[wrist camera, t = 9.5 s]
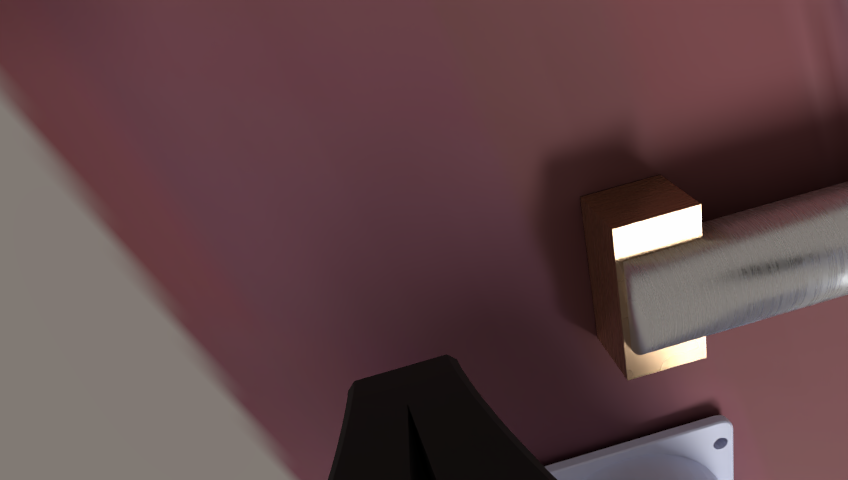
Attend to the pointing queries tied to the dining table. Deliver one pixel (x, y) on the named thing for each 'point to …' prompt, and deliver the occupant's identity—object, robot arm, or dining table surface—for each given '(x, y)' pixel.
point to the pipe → (704, 267)
